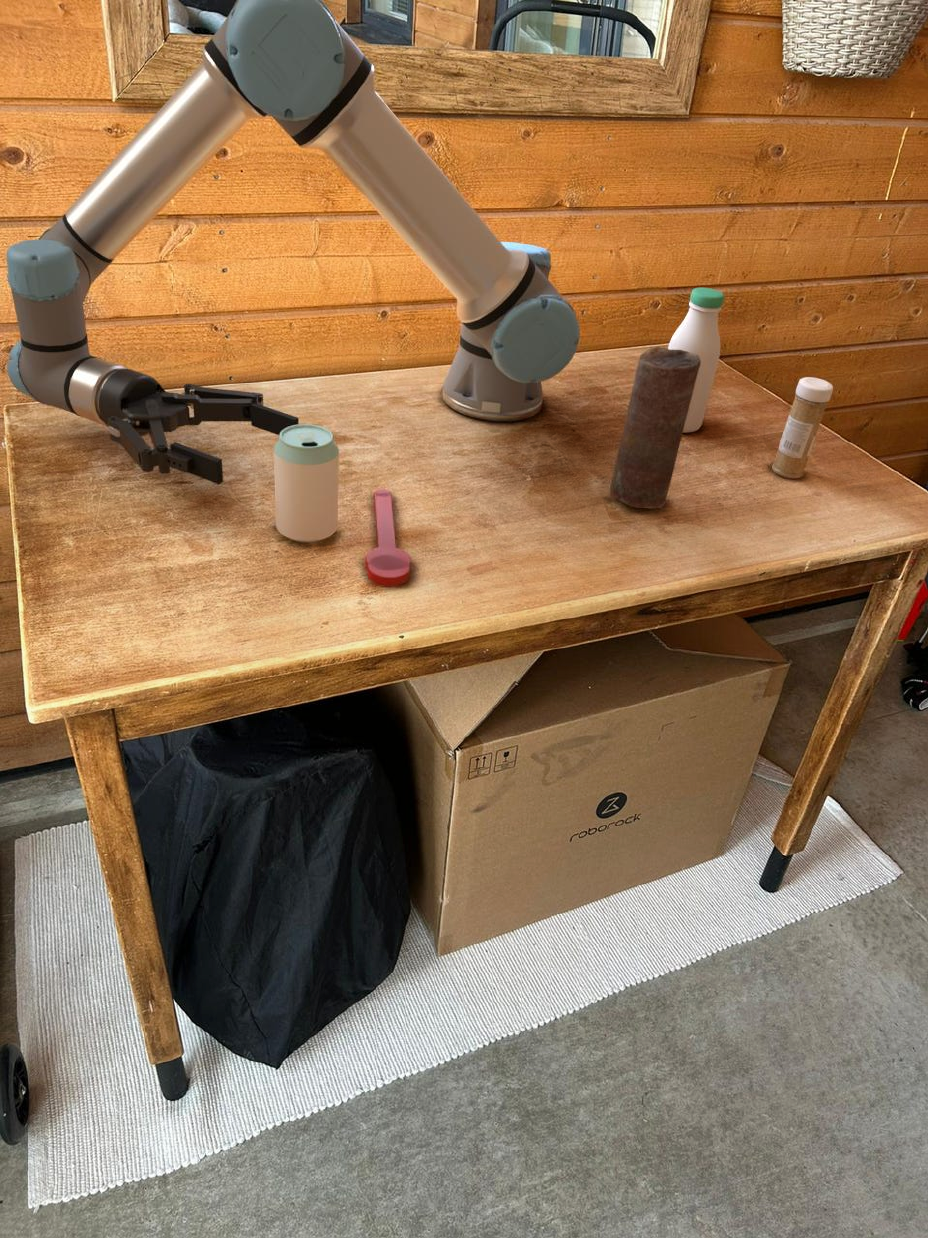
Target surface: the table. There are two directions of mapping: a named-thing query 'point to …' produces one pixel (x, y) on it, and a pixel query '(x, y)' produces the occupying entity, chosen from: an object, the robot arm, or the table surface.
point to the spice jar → (802, 427)
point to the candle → (654, 426)
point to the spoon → (386, 547)
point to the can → (306, 483)
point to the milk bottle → (700, 348)
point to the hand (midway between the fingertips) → (260, 449)
